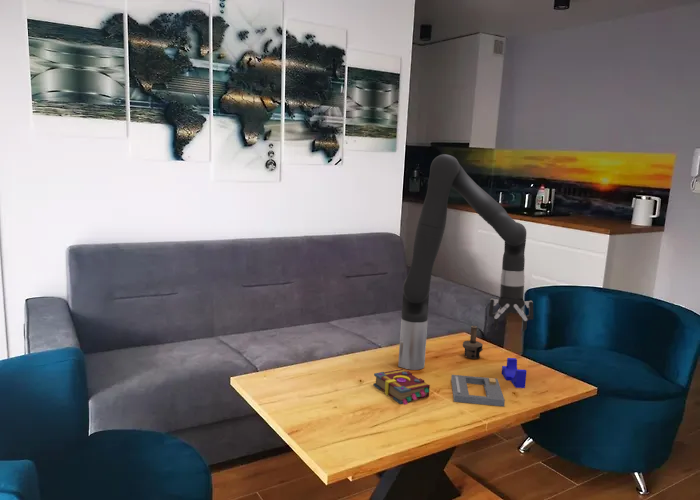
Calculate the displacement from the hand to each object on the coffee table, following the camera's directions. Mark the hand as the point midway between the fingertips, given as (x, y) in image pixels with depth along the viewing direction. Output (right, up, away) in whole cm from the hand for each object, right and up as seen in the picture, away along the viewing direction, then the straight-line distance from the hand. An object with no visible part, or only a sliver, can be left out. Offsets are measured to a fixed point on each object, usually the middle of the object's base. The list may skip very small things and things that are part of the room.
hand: (509, 329), depth 185 cm
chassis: (-14, -19, -10) cm, 25 cm away
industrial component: (-8, -14, +24) cm, 29 cm away
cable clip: (+1, -18, +2) cm, 18 cm away
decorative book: (-37, -18, -12) cm, 43 cm away
